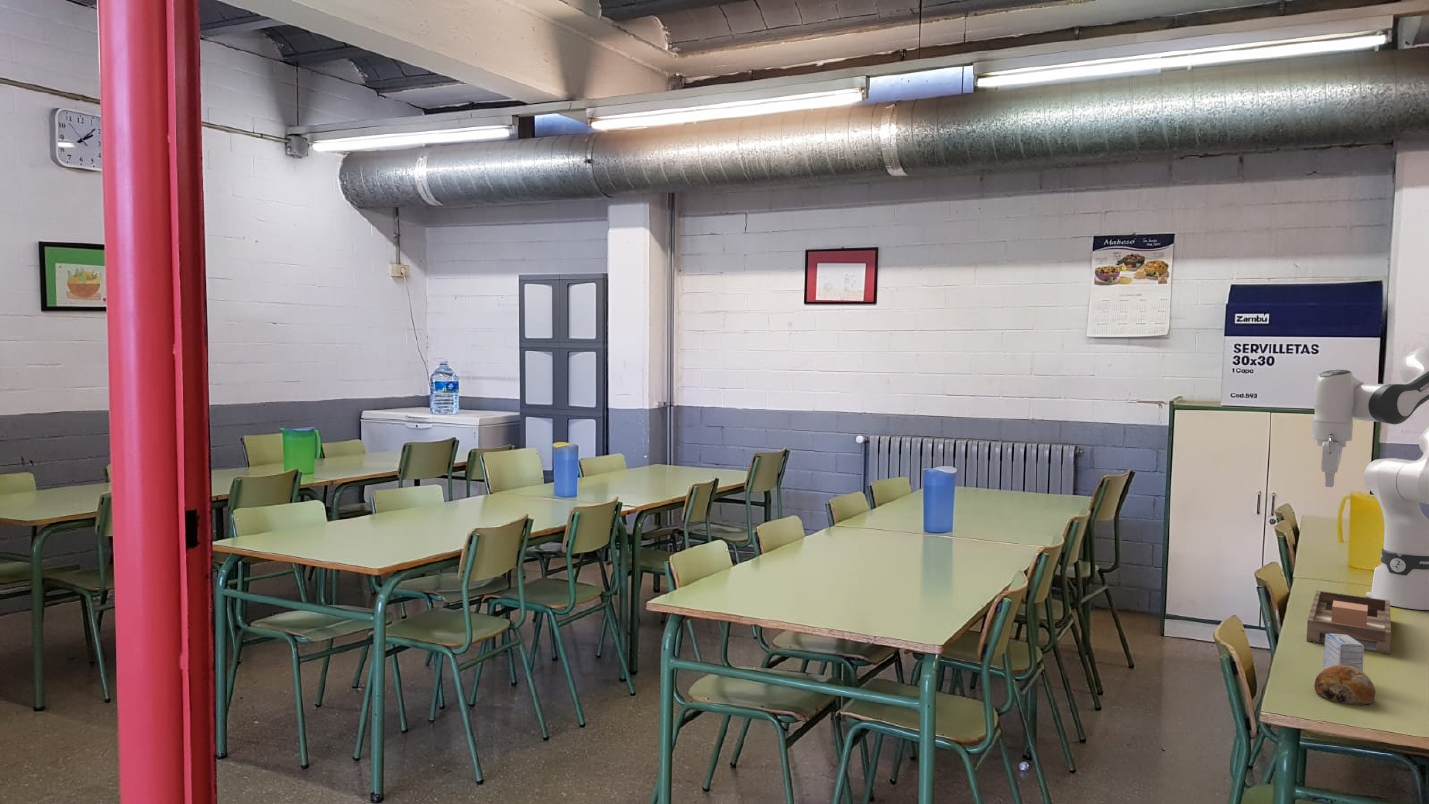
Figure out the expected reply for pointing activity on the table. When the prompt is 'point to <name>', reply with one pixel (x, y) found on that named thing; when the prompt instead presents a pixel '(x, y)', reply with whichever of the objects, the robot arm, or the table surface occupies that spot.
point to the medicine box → (1343, 651)
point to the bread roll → (1345, 685)
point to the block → (1349, 613)
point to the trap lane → (1370, 637)
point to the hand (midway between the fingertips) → (1329, 486)
